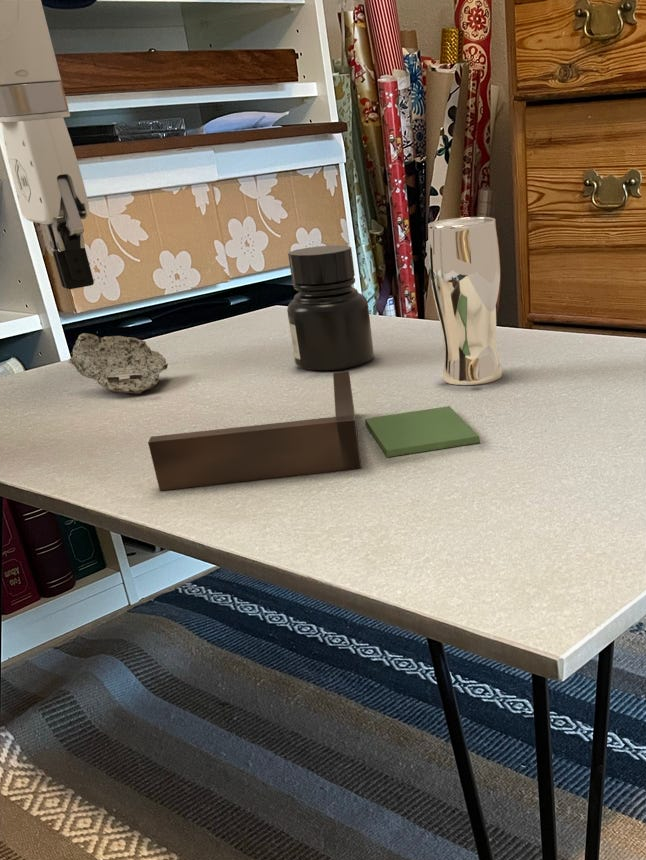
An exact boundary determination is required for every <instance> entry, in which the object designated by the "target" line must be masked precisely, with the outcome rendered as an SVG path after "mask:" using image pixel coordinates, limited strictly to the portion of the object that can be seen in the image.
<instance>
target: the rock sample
mask: <svg viewBox="0 0 646 860" xmlns="http://www.w3.org/2000/svg"><path fill="white" fill-rule="evenodd" d="M96 334H98V331H96ZM96 334H92V333H86V332H85V333H83V332H82V333H81V334H79V335H78V337H77V339H75V344H74V345H73V347H72V351H71V352H70V358H69V359H68V361H67V364H71V365H72V366H73V367H74V368H75V369H76V371H77V372H78V373H79V374H80V375H81V376H83V377H85V378H87V379H92V380H94V381H95V385H100V386H101V387H103V388H105V389H107V390H109V391H111V392H116V393H117V392H121V393H127V394H128V393H129V394H135V395H139V394H142V393H143V392H144V391H147V390H151V389H153V388H154V387H155V386H156V385H157V384H158V383H159V379H160V378H159V377H160V374H161V373H162V372H163V371H164V370H165V371H166V370H167V369H168V367H169V366H168V365H169V363H167V361H166V358H165V356H163V354H162V353H160V352H159V351H155V350H151V347H150V346H149V345H148V344H147V342H146V341H145V340H143V339H139V338H136V337H130V336H129V337H127V336H122V335H111V336H106V335H105V336H103V337H100V336H98V335H96Z"/></svg>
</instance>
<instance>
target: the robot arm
mask: <svg viewBox="0 0 646 860" xmlns="http://www.w3.org/2000/svg"><path fill="white" fill-rule="evenodd" d="M58 66H59V65H58V63H57V58H56V54H55V50H54V46H53V43H52V38H51V34H50V31H49V26H48V23H47V19H46V14H45V10H44V7H43V3H42V0H0V124H1V128H2V135H3V141H4V146H5V151H6V156H7V159H8V164H9V169H10V172H11V176H12V180H13V184H14V188H15V193H16V196H17V200H18V204H19V208H20V212H21V214H22V216H23V218H25V219H26V220H27V221H29V222H32V223H37V224H42V227H43V228H44V231H45V233H46V236H47V240H48V243H49V246H50V248H51V250H52V256H53V259H54V263H55V266H56V270H57V274H58V277H59V280H60V284H61V287H62V288H64V289H67V290H75V289H79V288H85V287H90V286H93V285H94V284H95V279H94V276H93V272H92V269H91V265H90V261H89V257H88V254H87V250H86V244H85V239H84V235H83V234H84V232H85V228H84V225H83V223H82V222H83V221H82V220H85V219H86V218H87V217H88V216H89V214H90V205H89V200H88V195H87V191H86V187H85V183H84V179H83V176H82V172H81V169H80V166H79V162H78V159H77V155H76V152H75V149H74V146H73V142H72V138H71V136H70V133H69V131H68V127H67V125H66V121H65V119H64V118H70V117H71V113H70V109H69V105H68V101H67V98H66V94H65V90H64V86H63V81H62V78H61V73H60V70H59V67H58Z"/></svg>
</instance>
